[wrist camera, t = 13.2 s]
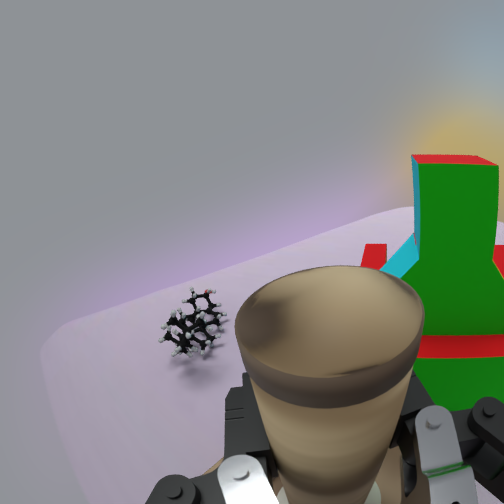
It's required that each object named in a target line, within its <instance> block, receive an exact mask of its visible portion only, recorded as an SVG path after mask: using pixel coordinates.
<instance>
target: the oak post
mask: <svg viewBox="0 0 504 504" xmlns="http://www.w3.org/2000/svg"><path fill="white" fill-rule="evenodd" d="M424 318H425V312H424V306H423V303H422V300H421V298H420V297H419V295H418V294H417V292H416V291H415V290H414V289H413V288H412V287H411V286H410V285H409V284H407V283H406V282H405V281H403V280H402V279H400V278H398V277H396V276H394V275H392V274H389V273H387V272H384V271H380V270H377V269H372V268H367V267H360V266H325V267H317V268H311V269H306V270H302V271H298V272H294V273H291V274H288V275H285V276H283V277H280V278H278V279H276V280H273V281H272V282H270V283H268V284H266V285H264V286H263V287H261V288H260V289H258V290H257V291H256V292H254V293H253V294H252V295H251V296H250V297H249V298H248V299H247V300H246V301H245V302H244V303H243V305H242V306H241V308H240V310H239V311H238V313H237V316H236V319H235V335H236V338H237V342H238V346H239V349H240V353H241V356H242V360H243V363H244V366H245V369H246V371H247V373H248V374H249V376H250V380H251V383H252V387H253V390H254V394H255V397H256V401H257V404H258V407H259V411H260V414H261V418H262V421H263V424H264V428H265V431H266V434H267V437H268V439H269V443H270V446H271V449H272V452H273V456H274V459H275V462H276V465H277V468H278V472H279V475H280V479H281V482H282V485H283V488H284V491H285V494H286V497H287V500H288V503H289V504H364V503H365V501H366V499H367V497H368V495H369V493H370V490H371V488H372V486H373V484H374V482H375V480H376V477H377V475H378V473H379V470H380V468H381V466H382V463H383V461H384V458H385V456H386V453H387V451H388V448H389V445H390V443H391V440H392V437H393V434H394V431H395V428H396V425H397V422H398V419H399V416H400V413H401V410H402V406H403V403H404V400H405V396H406V393H407V389H408V385H409V381H410V377H411V373H412V369H413V365H414V363H415V361H416V358H417V355H418V352H419V347H420V342H421V337H422V332H423V326H424Z"/></svg>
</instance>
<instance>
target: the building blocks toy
mask: <svg viewBox="0 0 504 504" xmlns="http://www.w3.org/2000/svg"><path fill="white" fill-rule="evenodd" d="M411 158H412V170H413V187H414V233H413V234H412V235H411V236H410V237H409V239H408V240H407V241H406V242H405V243H404V244H403V245H402V246H401V247H400V249H399V250H398V251H397V252H396V253H395V254H394V255H393V256H392V257H391V258H390V259H389V260H388V261H387V244H366V245H365V249H364V254H363V258H362V262H361V266H360V267H367V268H372V269H377V270H380V271H384V272H387V273H389V274H392V275H394V276H396V277H398V278H400V279H402V280H403V281H405V282H406V283H407V284H409V285H410V286H411V287H412V288H413V289H414V290H415V291H416V292H417V294H418V295H419V297H420V298H421V300H422V303H423V306H424V312H425V318H424V326H423V332H422V337H421V342H420V347H419V352H418V355H417V358H416V361H415V363H414V365H413V370H414V372H415V373H416V376H418V378H419V380H420V381H421V383H422V384H423V386H424V387H425V389H426V391H427V392H428V394H429V395H430V397H431V399H432V400H433V402H434V403H435V404H436V405H437V406H442V407H444V408H446V409H447V410H448V411H459V410H464V409H470V408H473V406H474V404H475V403H476V402H477V401H478V400H479V399H481V398H483V397H494V398H496V399H498V400H499V401H501V402H502V403H504V245H495V237H496V227H497V213H498V193H499V192H498V191H499V190H498V189H499V170H498V169H499V167H498V165H496V164H494V163H492V162H490V161H487V160H485V159H483V158H480V157H478V156H472V155H411Z"/></svg>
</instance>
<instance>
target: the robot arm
mask: <svg viewBox="0 0 504 504" xmlns="http://www.w3.org/2000/svg"><path fill="white" fill-rule="evenodd" d="M242 379H243V386H242V387H234V388H231V389H230V391H229V393H228V395H227V397H226V399H225V411H226V412H225V448H224V458H223V461H222V463H221V464H220V465H219V466H218V467H217V468H216V469H215V470H214V471H212V472H210V473H207V474H205V475H201V476H198V477H195V478H191V479H188V478H187V477H185V476H182V475H168V476H166V477H164V478H162V479H161V480H159V481H158V483H157V484H156V486H155V487H154V489H153V491H152V493H151V494H150V496H149V498H148V500H147V501H146V503H145V504H279V503H278V501H277V499H276V497H275V495H274V490H273V481H272V478H274V477H279V476H278V468H277V465H276V462H275V459H274V456H273V452H272V449H271V446H270V443H269V439H268V437H267V434H266V431H265V428H264V424H263V421H262V418H261V414H260V411H259V407H258V404H257V401H256V397H255V394H254V390H253V387H252V383H251V380H250V376H249V374H248V373H247V372H246V373H243V374H242ZM397 446H398V447H399V449H400V451H401V454H400V457H399V462H400V477H401V503H400V504H478V499H477V492H476V485H475V480H476V481H478V482H479V483H480V484H481V485H482V486H483V487H485V488H486V489H487V490H488V491H489V492H491V493H492V494H493V495H494V496H495V497H496V498H498V499H499V500H500V501H501V502H502V503H504V403H502V402H501V401H499V400H498V399H496V398H494V397H483V398H481V399H479V400H478V401H477V402H476V403H475V404H474V406H473V408H470V409H464V410H459V411H448V410H447V409H446V408H444V407H442V406H437V405H436V404H435V403H434V402H433V400H432V399H431V397H430V395H429V394H428V392H427V391H426V389H425V387H424V386H423V384H422V383H421V381H420V380H419V378H418V376H416V373H415V372H414V370H413V369H412V373H411V377H410V381H409V385H408V389H407V393H406V396H405V400H404V403H403V406H402V410H401V413H400V416H399V419H398V422H397V425H396V428H395V431H394V434H393V437H392V440H391V443H390V445H389V448H390V449H391V448H394V447H397Z"/></svg>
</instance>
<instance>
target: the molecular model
mask: <svg viewBox="0 0 504 504" xmlns="http://www.w3.org/2000/svg"><path fill="white" fill-rule="evenodd" d="M190 290H191V292H192V298H190V299H189V300H187V299H186V300H184V299H183V300H182V303H190V304H192V305H193V307H194V309H195V310H194V313H193V314H191V315H186V314H185V313H183V312H182V311H181V308H177V311H178V312H179V314H180V315H181V316H180V317H181V319H179V321H178V319H177V318H176V311H175V310H172V311H171V314H170V315H171V317H170V319H169V321H168V322H167V323H165V324H163V325H161V329H163V330H165V329H166V328H167V333H166V334H165V335H164V336H163V338H160V339H159V340H158V341H159V342H160V343H162V342H163V341H165V340H168V341H170V340H171V341H173V342H174V343H175V345H176V346H177V347H176V348H175V352H172V353H171V355H172V357H175V356H176V355H177V354H179V355H180V354H182V353H185V354H186V355H187V356H189V358H192V356H193V355H192V353H190V352H193V351H194V352H198V348H196V347H194V346H193V345H191V344H190V341H189V340H191V341H192V340H194V341H196V342H197V343H199V344H200V346H201V352H200V354H201V355H202V356H203V355H204V354H205V353H204V351H205V347H206V346H207V345H209V346H210V347H213V343H212V342H213V340H214V339H217V338H220V337H221V335H220V334H217V335H214V336H211V335H209V334H208V332H207V331H206V329H207V330H208V331H209V332H212V330H213V329H212V327H210V326H208V325H211V324H215V325H217V326H218V327H219V328H220V330H223V329H224V328H223V327H222V326H221V324H220V323H219V322H220V321H219V319H220V318H221V316H227V313H226V312H224V313H219V312H213V311H212V309H213V308H214V307H220V306H221V304H220V303H218V304H213V303H211V301H210V299H209V298H208V297H209V294H210V293H216V291H215V290H213V291H211V289H210V288H209V289H208V290H205V293H204V294H201V295H197V294H196V293H195V292H194V290H193V287H190ZM201 297H204V298H205V299H206V300H207V302H208V307H209V308H207V309H206V310H200V309H201V308H200V306H196V304H195V302H196V301H195V299H197V298H201ZM205 313H207V314H212V315H214V317H215V318H214V319H213V321H210V322H206V319H204V316H205ZM196 319H197V320H196ZM195 320H196V323H195ZM186 321H190V322H191V323H192V324H193V325H192V326H190V327H188V326H187V325H186V324H185V323H186ZM171 325H172V326H174V325H176V326H178V327H179V328H180V329H181V330H182V332H183V334H181V333H179V332H178V331H177V330H176V329H173V330H172V333H173V334H175V335H177V336H178V337H179V339H180V341H178V340H176V339H175V338H173V337H172V335H171V334H170V333H171V331H170V330H171ZM198 326H199V328H197V327H198ZM199 331H200V332H201V333H204V334H205V335H206V337H207V338H206V340H199V339H198V338H196V337H195V336H194V333H196V332H199ZM186 347H188V348H189V351H190V352H188V351H187V350H186Z"/></svg>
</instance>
